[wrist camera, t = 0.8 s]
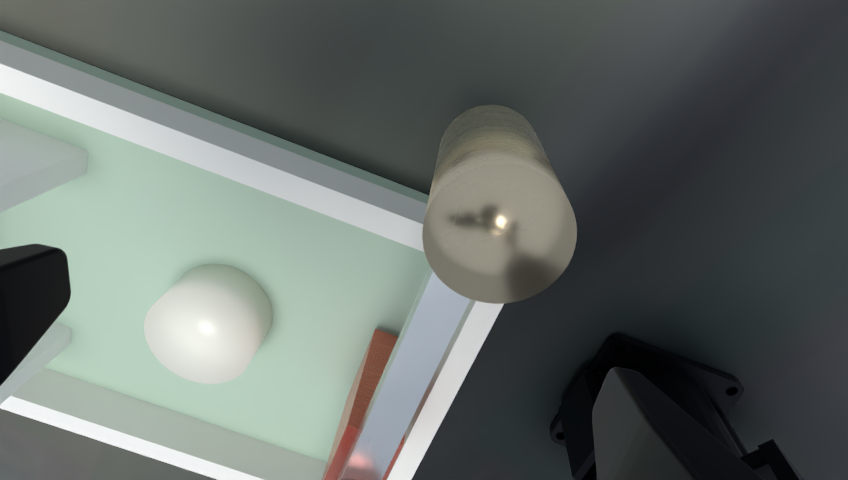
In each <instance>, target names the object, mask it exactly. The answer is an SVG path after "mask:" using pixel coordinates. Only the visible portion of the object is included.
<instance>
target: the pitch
mask: <svg viewBox="0 0 848 480" xmlns="http://www.w3.org/2000/svg"><path fill="white" fill-rule="evenodd" d="M428 199H429V195H427V194H424V193H422V192H419V191H416V190H414V189H411V188H409V187H406V186H403V185H401V184H398V183H396V182H393V181H390V180H388V179H385V178H383V177H380V176H377V175H375V174H372V173H370V172H367V171H364V170H362V169H359V168H357V167H354V166H351V165H349V164H346V163H344V162H341V161H338V160H336V159H333V158H331V157H328V156H325V155H323V154H320V153H318V152H315V151H313V150H310V149H307V148H305V147H302V146H300V145H297V144H294V143H292V142H289V141H287V140H284V139H281V138H279V137H276V136H274V135H271V134H268V133H266V132H263V131H261V130H258V129H255V128H253V127H250V126H248V125H245V124H242V123H240V122H237V121H235V120H232V119H229V118H227V117H224V116H222V115H219V114H216V113H214V112H211V111H209V110H206V109H204V108H201V107H198V106H196V105H193V104H191V103H188V102H185V101H183V100H180V99H178V98H175V97H172V96H170V95H167V94H165V93H162V92H159V91H157V90H154V89H152V88H149V87H146V86H144V85H141V84H139V83H136V82H133V81H131V80H128V79H126V78H123V77H120V76H118V75H115V74H113V73H110V72H107V71H105V70H102V69H100V68H97V67H95V66H92V65H89V64H87V63H84V62H82V61H79V60H76V59H74V58H71V57H69V56H66V55H63V54H61V53H58V52H56V51H53V50H50V49H48V48H45V47H43V46H40V45H37V44H35V43H32V42H30V41H27V40H24V39H22V38H19V37H17V36H14V35H11V34H9V33H6V32H4V31H1V30H0V249H5V248H11V247H17V246H23V245H28V244H43V245H47V246H52V247H57V248H60V249H62V250H63V251H64V252H65V253H66V255H67V259H68V268H69V277H70V286H71V297H70V301H69V303H68V305H67V307H66V308H65V310H64V311H63V312H62V313H61V314H60V316H59V317H58V318H57V319H56V320H55V322H54V323H53V324H52V325H51V327H50V328H49V329H48V330H47V331H46V333H45V334H44V335H43V336H42V337H41V339H40V340H39V341H38V342H37V344H36V345H35V346H34V347H33V348H32V350H31V351H30V352H29V353H28V354H27V356H26V357H25V358H24V359H23V361H22V362H21V363H20V364H19V365H18V367H17V368H16V369H15V370H14V371H13V372H12V374H11V375H10V376H9V377H8V378H7V379H6V381H5V382H4V383H3V384H2V385H1V386H0V408H1V409H4V410H7V411H10V412H13V413H17V414H20V415H23V416H26V417H29V418H32V419H35V420H38V421H41V422H44V423H47V424H50V425H53V426H56V427H59V428H62V429H65V430H68V431H71V432H74V433H77V434H81V435H84V436H87V437H90V438H93V439H96V440H99V441H102V442H105V443H108V444H111V445H114V446H117V447H120V448H123V449H126V450H129V451H132V452H135V453H138V454H141V455H145V456H148V457H151V458H154V459H157V460H160V461H163V462H166V463H169V464H172V465H175V466H178V467H181V468H184V469H187V470H190V471H193V472H196V473H199V474H202V475H205V476H209V477H212V478H215V479H218V480H322V478H323V474H324V471H325V468H326V465H327V461H328V458H329V455H330V452H331V449H332V445H333V442H334V439H335V436H336V432H337V429H338V426H339V423H340V419H341V416H342V413H343V410H344V407H345V403H346V400H347V397H348V394H349V392H350V389H351V387H352V384H353V382H354V379H355V377H356V374H357V372H358V370H359V367H360V365H361V362H362V360H363V357H364V355H365V352H366V350H367V348H368V345H369V343H370V340H371V338H372V335H373V333H374V330H375V329H378V330H380V331H383V332H386V333H389V334H391V335H394V336H397V337H399V334H400V332H401V330H402V328H403V325H404V323H405V321H406V318H407V316H408V314H409V311H410V309H411V307H412V305H413V302H414V300H415V298H416V295H417V293H418V291H419V289H420V286H421V284H422V282H423V279H424V277H425V275H426V272H427V270H428V268H429V266H430V265H429V263H428V260H427V258H426V255H425V252H424V248H423V240H422V230H423V223H424V218H425V213H426V209H427V204H428ZM205 264H222V265H227V266H230V267H234V268H236V269H238V270H241V271H242V272H244V273H246V274H248V275H249V276H250V277H252V278H253V279H254V280H255V281H256V282H257V283H258V284H259V285H260V286H261V287H262V288H263V290H264V291H265V292H266V294H267V296H268V298H269V300H270V303H271V306H272V312H273V320H272V325H271V328H270V330H269V332H268V334H267V335H266V337H265V338H264V340H263V342H262V343H261V345H260V347H259V348H258V350H257V352H256V353H255V355H254V357H253V358H252V360H251V361H250V363H249V365H248V366H247V368H246V369H245V370H244V372H243V373H242V374H240V375H239V376H238V377H236V378H235V379H233V380H230V381H228V382H224V383H219V384H202V383H197V382H193V381H190V380H187V379H184V378H182V377H180V376H178V375H176V374H174V373H173V372H171V371H170V370H168V369H167V368H166V367H165V366H164V365H162V364H161V363H160V362H159V361H158V359H157V358H156V357H155V356H154V354H153V353H152V351H151V350H150V348H149V346H148V344H147V341H146V338H145V334H144V321H145V317H146V314H147V312H148V310H149V309H150V307H151V306H152V305H153V304H154V303H155V302H156V301H157V300H158V299H159V298H160V297H161V296H162V295H163V294H164V293H165V292H167V291H168V290H169V289H170V288H171V287H172V286H173V285H174V284H175V283H176V282H177V281H178V280H179V279H180V278H181V277H182V276H183V275H184V274H185V273H187V272H188V271H189V270H191V269H193V268H195V267H198V266H201V265H205ZM503 305H504V304H493V303H484V302H478V301H475V300H472V299H471V300H470V302H469V304H468V306H467V308H466V310H465V312H464V314H463V316H462V318H461V320H460V322H459V324H458V326H457V328H456V330H455V332H454V334H453V336H452V338H451V340H450V342H449V344H448V346H447V348H446V350H445V352H444V354H443V357H442V359H441V361H440V363H439V365H438V367H437V369H436V371H435V373H434V375H433V377H432V379H431V381H430V383H429V385H428V387H427V389H426V391H425V393H424V395H423V397H422V399H421V401H420V403H419V405H418V407H417V409H416V411H415V413H414V415H413V418H412V420H411V422H410V424H409V426H408V428H407V430H406V434H405V441H404V445H403V447H402V449H401V451H400V453H399V455H398V457H397V459H396V461H395V463H394V465H393V468H392V470H391V472H390V474H389V476H388V478H387V480H411V479H412V477H413V475H414V473H415V471H416V470H417V468H418V466H419V464H420V462H421V460H422V458H423V456H424V454H425V453H426V451H427V449H428V447H429V445H430V443H431V441H432V439H433V437H434V435H435V434H436V432H437V430H438V428H439V426H440V424H441V422H442V420H443V418H444V417H445V415H446V413H447V411H448V409H449V407H450V405H451V403H452V401H453V399H454V398H455V396H456V394H457V392H458V390H459V388H460V386H461V384H462V382H463V381H464V379H465V377H466V375H467V373H468V371H469V369H470V367H471V365H472V363H473V362H474V360H475V358H476V356H477V354H478V352H479V350H480V348H481V346H482V345H483V343H484V341H485V339H486V337H487V335H488V333H489V331H490V329H491V327H492V326H493V324H494V322H495V320H496V318H497V316H498V314H499V312H500V310H501V309H502V307H503Z"/></svg>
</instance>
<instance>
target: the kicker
mask: <svg viewBox="0 0 848 480" xmlns="http://www.w3.org/2000/svg"><path fill="white" fill-rule="evenodd" d="M422 240H423V248H424V252H425V255H426V258H427V260H428V263H429V265H430V266H429V268H428V270H427V272H426V275H425V277H424V279H423V282H422V284H421V286H420V289H419V291H418V293H417V295H416V298H415V300H414V302H413V305H412V307H411V309H410V311H409V314H408V316H407V318H406V321H405V323H404V325H403V328H402V330H401V332H400V334H399V337H397V336H394V335H391V334H389V333H386V332H383V331H380V330H378V329H375V330H374V333H373V335H372V338H371V340H370V343H369V345H368V348H367V350H366V352H365V355H364V357H363V360H362V362H361V365H360V367H359V370H358V372H357V374H356V377H355V379H354V382H353V384H352V387H351V389H350V392H349V394H348V397H347V400H346V403H345V407H344V410H343V413H342V416H341V419H340V423H339V426H338V429H337V432H336V436H335V439H334V442H333V445H332V449H331V452H330V455H329V458H328V461H327V465H326V468H325V471H324V474H323V478H322V480H387V478H388V476H389V474H390V472H391V470H392V468H393V465H394V463H395V461H396V459H397V457H398V455H399V453H400V451H401V449H402V447H403V445H404V441H405V434H406V430H407V428H408V426H409V424H410V422H411V420H412V418H413V415H414V413H415V411H416V409H417V407H418V405H419V403H420V401H421V399H422V397H423V395H424V393H425V391H426V389H427V387H428V385H429V383H430V381H431V379H432V377H433V375H434V373H435V371H436V369H437V367H438V365H439V363H440V361H441V359H442V357H443V354H444V352H445V350H446V348H447V346H448V344H449V342H450V340H451V338H452V336H453V334H454V332H455V330H456V328H457V326H458V324H459V322H460V320H461V318H462V316H463V314H464V312H465V310H466V308H467V306H468V304H469V302H470V300H471V299H472V300H475V301H478V302H484V303H493V304H504V303H512V302H517V301H521V300H525V299H527V298H530V297H532V296H534V295H536V294H538V293H540V292H542V291H543V290H545V289H546V288H548V287H549V286H550V285H552V284H553V283H554V282H555V281H556V280H557V279H558V278H559V277H560V276H561V274H562V273H563V272H564V270H565V269H566V267H567V266H568V264H569V262H570V260H571V258H572V256H573V253H574V250H575V246H576V240H577V225H576V219H575V215H574V211H573V209H572V207H571V204H570V202H569V200H568V198H567V196H566V194H565V192H564V190H563V188H562V186H561V184H560V182H559V180H558V178H557V176H556V173H555V171H554V169H553V167H552V165H551V163H550V161H549V159H548V157H547V155H546V153H545V151H544V149H543V147H542V145H541V143H540V141H539V139H538V137H537V135H536V133H535V130H534V129H533V127H532V126H531V124H530V123H529V122H528V121H527V119H526V118H524V117H523V116H522V115H521V114H519V113H518V112H516V111H515V110H513V109H511V108H508V107H505V106H500V105H481V106H476V107H474V108H471V109H469V110H467V111H465V112H463V113H462V114H460V115H459V116H457V117H456V118H455V119H454V120H453V121H452V122H451V123H450V125H449V126H448V127H447V129H446V130H445V132H444V134H443V136H442V139H441V142H440V147H439V152H438V156H437V161H436V166H435V171H434V175H433V180H432V185H431V190H430V194H429V199H428V204H427V209H426V213H425V218H424V223H423V230H422Z"/></svg>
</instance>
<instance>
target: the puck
mask: <svg viewBox="0 0 848 480" xmlns="http://www.w3.org/2000/svg"><path fill="white" fill-rule="evenodd" d="M272 320H273V312H272V306H271V303H270V300H269V298H268V296H267V294H266V292H265V291H264V290H263V288H262V287H261V286H260V285H259V284H258V283H257V282H256V281H255V280H254V279H253V278H252V277H250V276H249V275H248V274H246V273H244V272H242V271H241V270H238V269H236V268H234V267H230V266H227V265H222V264H205V265H201V266H198V267H195V268H193V269H191V270H189V271H188V272H187V273H185V274H184V275H183V276H182V277H181V278H180V279H179V280H178V281H177V282H176V283H175V284H174V285H173V286H172V287H171V288H170V289H169V290H168V291H167V292H165V293H164V294H163V295H162V296H161V297H160V298H159V299H158V300H157V301H156V302H155V303H154V304H153V305H152V306H151V307H150V309H149V310H148V312H147V314H146V317H145V321H144V334H145V338H146V341H147V344H148V346H149V348H150V350H151V351H152V353H153V354H154V356H155V357H156V358H157V359H158V361H159V362H160V363H161V364H162V365H164V366H165V367H166V368H167V369H168V370H170V371H171V372H173V373H174V374H176V375H178V376H180V377H182V378H184V379H187V380H190V381H193V382H197V383H202V384H219V383H224V382H228V381H230V380H233V379H235V378H236V377H238V376H239V375H240V374H242V373H243V372H244V370H245V369H246V368H247V366H248V365H249V363H250V361H251V360H252V358H253V357H254V355H255V353H256V352H257V350H258V348H259V347H260V345H261V343H262V342H263V340H264V338H265V337H266V335H267V334H268V332H269V330H270V328H271V325H272Z"/></svg>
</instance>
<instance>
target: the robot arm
mask: <svg viewBox="0 0 848 480" xmlns="http://www.w3.org/2000/svg"><path fill="white" fill-rule="evenodd" d="M70 297H71V286H70V277H69V268H68V259H67V255H66V253H65V252H64V251H63V250H62V249H60V248H57V247H52V246H47V245H43V244H28V245H23V246H17V247H11V248H5V249H0V386H1V385H2V384H3V383H4V382H5V381H6V379H7V378H8V377H9V376H10V375H11V374H12V372H13V371H14V370H15V369H16V368H17V367H18V365H19V364H20V363H21V362H22V361H23V359H24V358H25V357H26V356H27V354H28V353H29V352H30V351H31V350H32V348H33V347H34V346H35V345H36V344H37V342H38V341H39V340H40V339H41V337H42V336H43V335H44V334H45V333H46V331H47V330H48V329H49V328H50V327H51V325H52V324H53V323H54V322H55V320H56V319H57V318H58V317H59V316H60V314H61V313H62V312H63V311H64V310H65V308H66V307H67V305H68V303H69V301H70ZM617 345H623V346H622V347H621V348H619V349H615V348H614V347H615V346H617ZM729 387H732V388H731V389H728V388H729ZM726 389H728V390H726ZM743 392H744V388H743V386H742V384H741V383H740V382H739V380H738V379H737V378H735V377H733V376H730V375H728V374H725V373H722V372H720V371H717V370H714V369H712V368H709V367H706V366H704V365H701V364H698V363H696V362H693V361H690V360H688V359H685V358H682V357H679V356H677V355H674V354H671V353H669V352H666V351H663V350H661V349H658V348H655V347H653V346H650V345H647V344H645V343H642V342H639V341H637V340H634V339H631V338H629V337H626V336H623V335H614V336H611V337H610V338H609V339H608V340H607V341H606V343H605V344H604V346H603V347H602V349H601V350H600V352H599V353H598V355H597V356H596V358H595V359H594V361H593V362H592V364H591V366H590V367H589V369H588V370H586V371H584V372H582V374H581V375H580V377H579V378H578V380H577V381H576V383H575V385H574V386H573V388H572V389H571V391H570V392H569V394H568V395H567V397H566V398H565V400H564V401H563V403H562V404H561V406H560V408H559V414H558V416H557V417H556V419H555V420H554V422H553V423H552V425H551V427H550V435H551V439H552V440H553V441H554V442H556V443H558V444H561V445H564V446H566V448H567V452H568V457H569V462H570V466H571V471H572V476H573V478H574V480H804V479H803V478H802V477H801V475H800V474H799V473H798V471H797V470H796V469H795V468H794V466H793V465H792V464H791V462H790V461H789V460H788V458H787V457H786V456H785V454H784V453H783V452H782V450H781V449H780V448H779V446H778V445H777V444H776V443H775V441H774V440H773V439H772V440H770V441H767V442H765V443H763V444H761V445H759V446H758V447H759V449H758V450H755V451H753V452H751V453H749V454H748V452H747V451H746V449H745V447H744V446H743V444H742V442H741V441H740V439H739V438H738V436H737V434H736V433H735V431H734V429H733V428H732V426H731V424H730V423H729V421H728V420H727V418H726V416H725V414H726V413H727V412H728V411H729V409H730V408H731V407H732V406H733V405H734V404H735V402H736V401H737V400H738V399H739V398H740V396H741V395H742V394H743ZM558 432H563V433H561V434H559V433H558Z"/></svg>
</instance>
